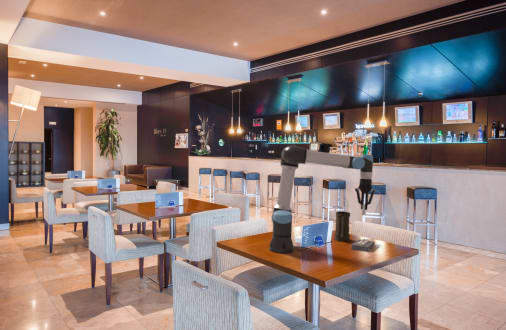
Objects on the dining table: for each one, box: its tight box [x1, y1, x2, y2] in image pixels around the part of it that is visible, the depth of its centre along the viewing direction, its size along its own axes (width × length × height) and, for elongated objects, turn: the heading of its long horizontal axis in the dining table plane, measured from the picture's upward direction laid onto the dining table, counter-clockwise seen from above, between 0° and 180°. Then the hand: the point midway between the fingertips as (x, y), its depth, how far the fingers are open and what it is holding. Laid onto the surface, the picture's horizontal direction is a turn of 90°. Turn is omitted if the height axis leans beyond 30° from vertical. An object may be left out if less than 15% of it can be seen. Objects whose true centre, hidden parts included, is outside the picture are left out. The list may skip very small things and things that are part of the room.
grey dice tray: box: [350, 239, 376, 253], centre depth 229 cm, size 10×18×3 cm, turn 148°
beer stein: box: [333, 210, 351, 242], centre depth 247 cm, size 15×11×20 cm
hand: (363, 214), depth 228 cm, fingers closed
